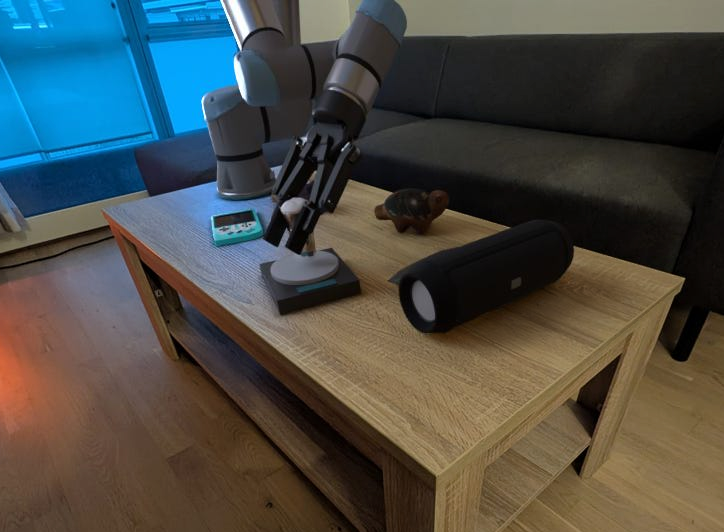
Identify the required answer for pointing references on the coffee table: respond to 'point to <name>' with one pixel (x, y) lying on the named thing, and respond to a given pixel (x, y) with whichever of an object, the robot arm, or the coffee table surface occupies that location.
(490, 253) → the portable speaker
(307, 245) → the milkshake
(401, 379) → the coffee table surface
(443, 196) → the decorative turtle
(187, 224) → the coffee table surface
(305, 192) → the figurine
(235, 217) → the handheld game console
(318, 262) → the scale
